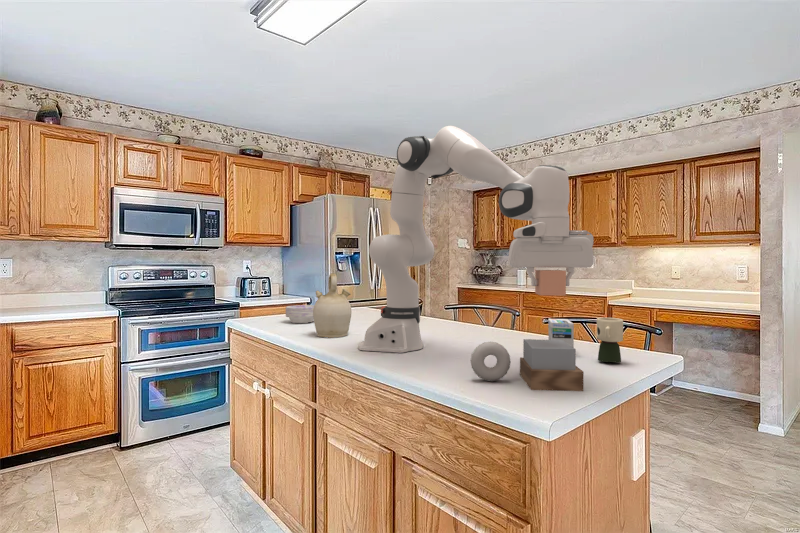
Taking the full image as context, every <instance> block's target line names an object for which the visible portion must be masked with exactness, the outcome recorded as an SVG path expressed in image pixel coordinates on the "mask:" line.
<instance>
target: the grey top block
mask: <svg viewBox="0 0 800 533" xmlns="http://www.w3.org/2000/svg"><path fill="white" fill-rule="evenodd" d="M522 341H523V344H522V345H523V347H522V348H523V349H522V350H523V351H522V352H523V353H522V354H523V356H522V358H524V359H525V361H526V362H527V363H528V364H529V366H530V367H531V368H532V369H545V370H576V366H577V365H576V357H577V356H576V353H577V351H576V350H577V349H576V348H575V347H574V348H573V347H572V346H570V345H569V344H567V343H566V342H565V341H563V340H549V339H533V338H532V339H531V338H530V339H529V338H528V339H527V338H526V339H523V340H522Z"/></svg>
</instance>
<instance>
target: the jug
mask: <svg viewBox="0 0 800 533" xmlns="http://www.w3.org/2000/svg"><path fill="white" fill-rule="evenodd" d="M327 281H328V283H327V284H328V286H327V289H328V292H327V293H326V294H323V292H320V291H319V290H316V291H315V297H316V298H317V300H316V302H315V303H314V304H313V305H314V308H313V317H314V320H313V322H314V327H315V331H316V336H317V337H319V338H324V337H328V338H327V339H331V338H332V339H333V338H334V337H336V338H343V336H344V337H347V336H348V334H349V330H350V325H351V319H352V305H351V304H350V301H349V300H348V297H349V296H351V295H352V294H351V292H350V291H348V290H346V289H344V288H343V289H342V291H341V294H339V293H338V292H337V289H338V288H337V287H338V277H337V274H336V273H335V272H331V273H330V274H329V276H328V280H327Z"/></svg>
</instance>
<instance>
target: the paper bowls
mask: <svg viewBox="0 0 800 533" xmlns="http://www.w3.org/2000/svg"><path fill="white" fill-rule="evenodd" d="M314 305H315V304H302V305H301V304H299V305H298V304H297V305H287V306H286V307H285V317H286V318H288V319H289V321H290V322H291V323H292V324H309V323H308V322H311V323H312V322H314V317H313V308H314Z"/></svg>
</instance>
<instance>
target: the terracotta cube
mask: <svg viewBox="0 0 800 533" xmlns="http://www.w3.org/2000/svg"><path fill="white" fill-rule="evenodd" d="M534 272H535V274H534V277H535V279H539V282H538V283H539V285H538V286H534V293H535V294H536V295H538V296H567V286H566V276H567V272H566V270H562V269H534Z"/></svg>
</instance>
